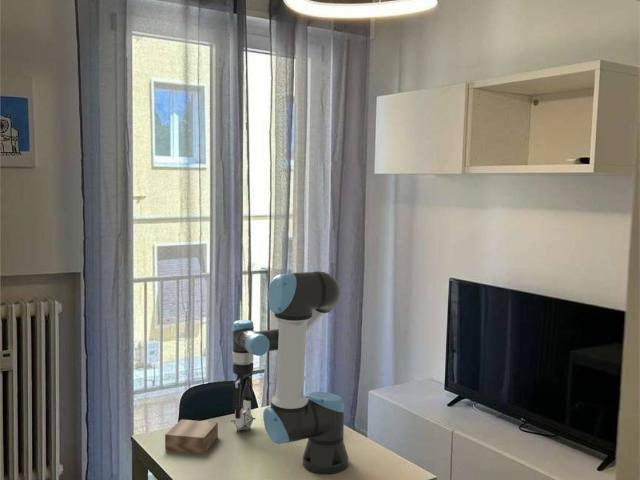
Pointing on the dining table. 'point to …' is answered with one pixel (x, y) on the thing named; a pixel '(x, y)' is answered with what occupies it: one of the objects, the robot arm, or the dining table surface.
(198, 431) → the walnut block
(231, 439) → the dining table surface
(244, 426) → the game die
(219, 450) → the dining table surface
